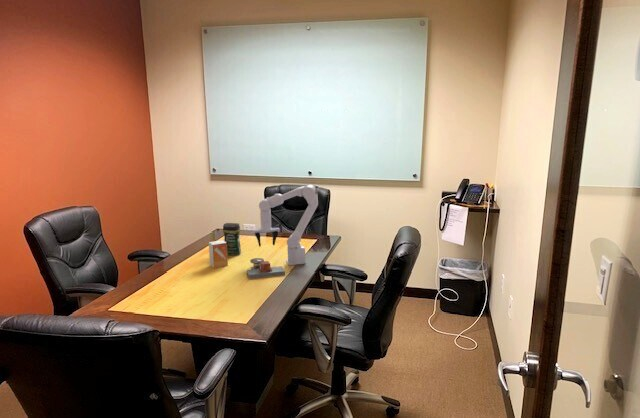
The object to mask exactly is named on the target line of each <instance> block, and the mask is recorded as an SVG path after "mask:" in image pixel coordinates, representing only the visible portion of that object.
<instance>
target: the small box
mask: <svg viewBox="0 0 640 418" xmlns="http://www.w3.org/2000/svg"><path fill="white" fill-rule="evenodd" d="M208 257H209V266H210V267H212V268H213V269H216V268H221V267H228V266H229V260H228V257H229V256H228V255H227V242H225V241H224V240H223V239H222V240H216V241H215V240H214V241H209V242H208Z"/></svg>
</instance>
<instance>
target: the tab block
mask: <svg viewBox="0 0 640 418" xmlns="http://www.w3.org/2000/svg"><path fill="white" fill-rule="evenodd" d="M260 263H261V271H260V272H261V273H263V272H271V270H270V267H271V263H270V262H269V260H266V261H265V260H264V262H260Z"/></svg>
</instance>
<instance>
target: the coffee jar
mask: <svg viewBox="0 0 640 418" xmlns="http://www.w3.org/2000/svg"><path fill="white" fill-rule="evenodd" d="M240 231H241V227H240V223H236V222H226V223H224V224H223V226H222V232H223V236H224V240H223V241H225V242H227V256H238V255H241V254H242V247H241V242H240V241H241V240H240V239H241V238H240Z"/></svg>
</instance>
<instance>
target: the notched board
mask: <svg viewBox="0 0 640 418" xmlns="http://www.w3.org/2000/svg"><path fill="white" fill-rule="evenodd" d="M270 270H271V272H263V273H261V271H260V270H259V269H251V268H250V269H247V270H246V275H247V277H248V280H251V279H261V278H269V277H280V276H285V275H286V270H285V269H284V267H283V266H282V265H281V266H270Z"/></svg>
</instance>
